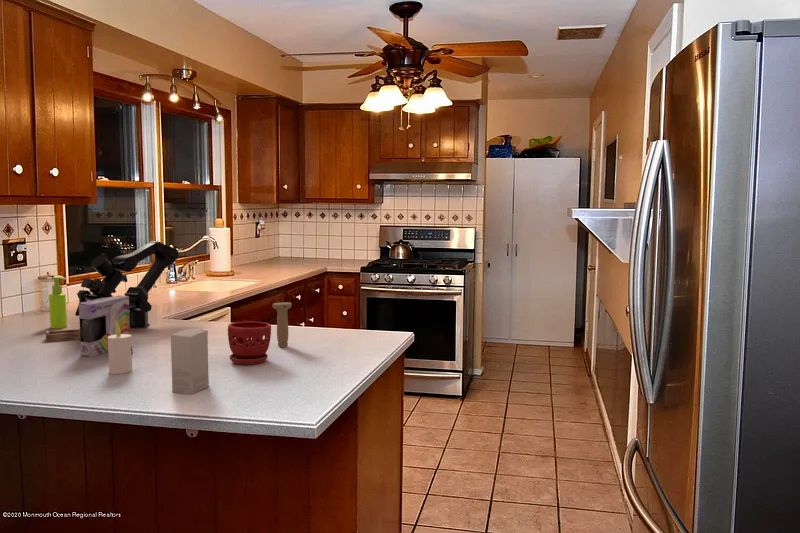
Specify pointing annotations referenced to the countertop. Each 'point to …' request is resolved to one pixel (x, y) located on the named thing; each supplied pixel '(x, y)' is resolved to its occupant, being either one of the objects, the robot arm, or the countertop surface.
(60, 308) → the soap dispenser
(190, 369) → the skincare box
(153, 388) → the countertop surface
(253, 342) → the plant pot
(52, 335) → the track
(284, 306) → the handle
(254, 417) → the countertop surface
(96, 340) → the cake pan box
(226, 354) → the countertop surface
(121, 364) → the candle
